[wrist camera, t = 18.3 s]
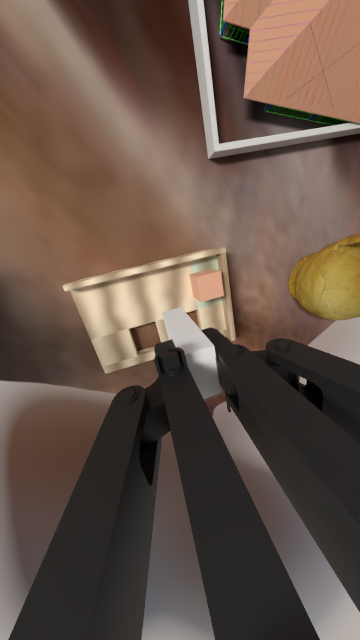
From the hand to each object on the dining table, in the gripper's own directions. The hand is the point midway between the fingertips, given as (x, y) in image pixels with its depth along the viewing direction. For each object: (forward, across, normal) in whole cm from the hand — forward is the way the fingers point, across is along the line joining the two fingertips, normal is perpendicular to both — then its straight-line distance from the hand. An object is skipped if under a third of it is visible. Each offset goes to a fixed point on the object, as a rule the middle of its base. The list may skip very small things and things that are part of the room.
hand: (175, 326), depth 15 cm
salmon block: (+27, +11, -3) cm, 29 cm away
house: (+30, +37, +34) cm, 58 cm away
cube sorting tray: (+29, 0, -8) cm, 30 cm away
